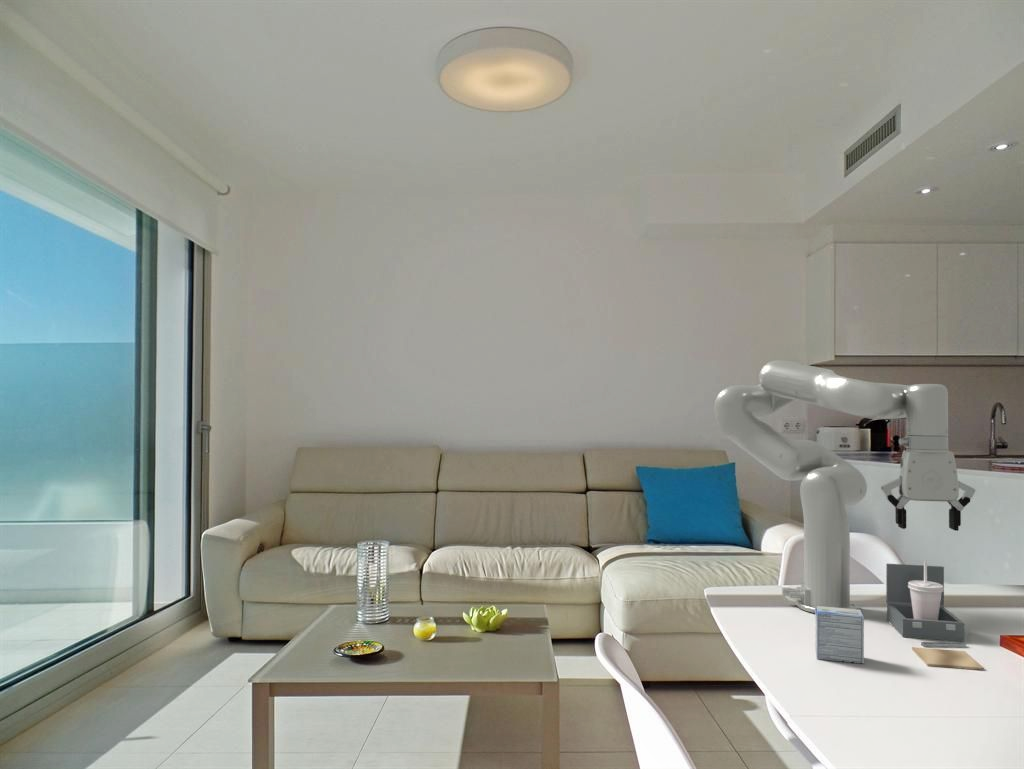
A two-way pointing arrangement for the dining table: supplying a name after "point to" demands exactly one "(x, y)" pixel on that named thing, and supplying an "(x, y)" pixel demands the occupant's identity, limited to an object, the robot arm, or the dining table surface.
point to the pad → (947, 658)
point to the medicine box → (839, 634)
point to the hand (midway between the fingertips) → (927, 528)
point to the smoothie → (925, 597)
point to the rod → (943, 644)
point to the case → (902, 605)
